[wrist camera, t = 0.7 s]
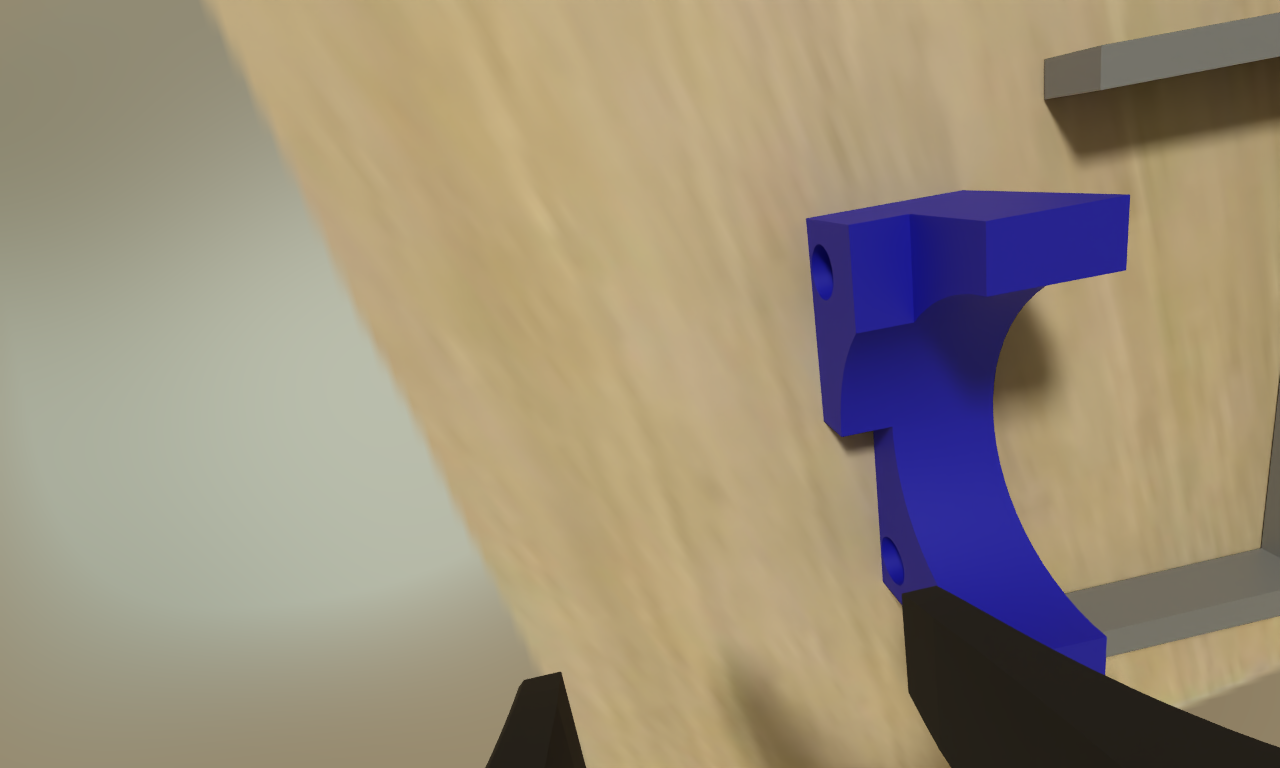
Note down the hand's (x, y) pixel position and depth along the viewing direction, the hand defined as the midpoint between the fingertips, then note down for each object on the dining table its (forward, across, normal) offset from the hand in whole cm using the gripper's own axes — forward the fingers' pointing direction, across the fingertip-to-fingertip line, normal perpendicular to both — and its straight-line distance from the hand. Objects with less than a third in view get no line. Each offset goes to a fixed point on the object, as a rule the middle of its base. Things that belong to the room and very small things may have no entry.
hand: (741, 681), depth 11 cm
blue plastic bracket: (+10, -7, 0) cm, 12 cm away
